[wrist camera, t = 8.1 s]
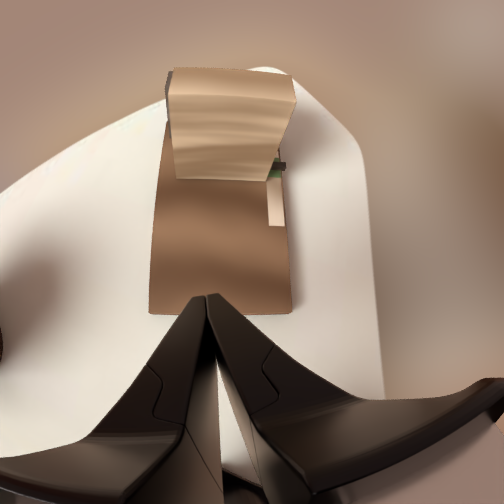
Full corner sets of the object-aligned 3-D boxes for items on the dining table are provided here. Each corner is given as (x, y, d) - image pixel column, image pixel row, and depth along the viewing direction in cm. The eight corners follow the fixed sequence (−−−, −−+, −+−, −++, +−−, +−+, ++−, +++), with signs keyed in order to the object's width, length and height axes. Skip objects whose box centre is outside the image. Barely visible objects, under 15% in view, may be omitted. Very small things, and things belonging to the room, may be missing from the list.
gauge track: (287, 313, 22) (324, 299, 15) (151, 314, 21) (127, 299, 14) (274, 134, 27) (293, 79, 20) (167, 129, 25) (162, 71, 19)
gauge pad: (284, 182, 24) (323, 106, 15) (176, 178, 22) (168, 94, 14) (282, 157, 24) (316, 79, 16) (178, 152, 23) (174, 67, 15)
